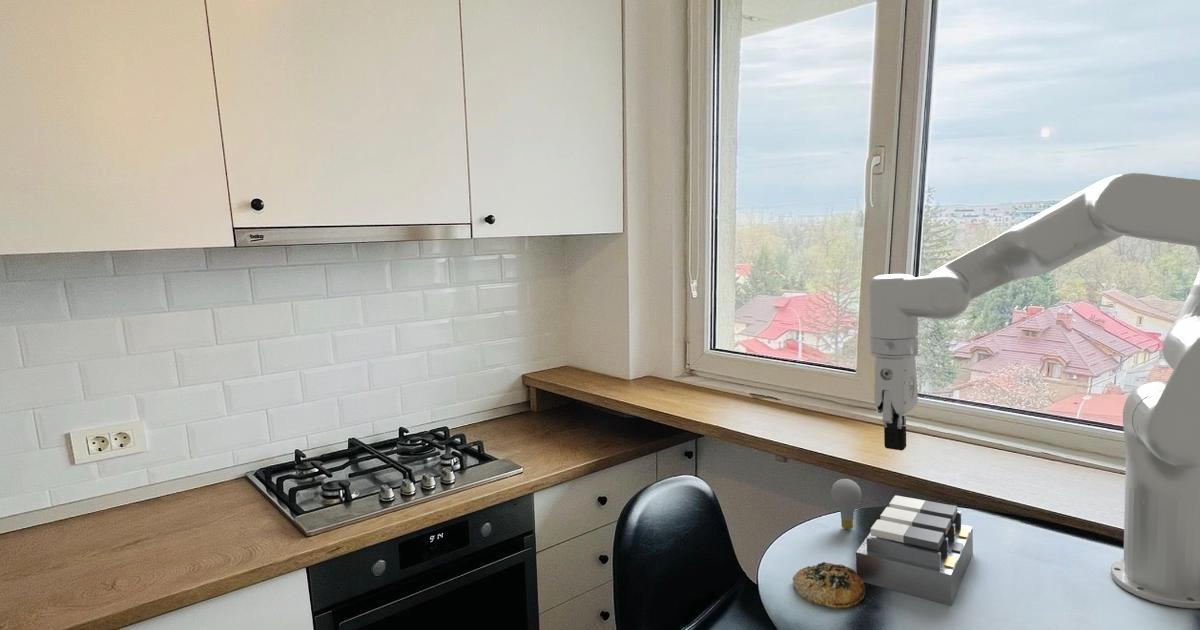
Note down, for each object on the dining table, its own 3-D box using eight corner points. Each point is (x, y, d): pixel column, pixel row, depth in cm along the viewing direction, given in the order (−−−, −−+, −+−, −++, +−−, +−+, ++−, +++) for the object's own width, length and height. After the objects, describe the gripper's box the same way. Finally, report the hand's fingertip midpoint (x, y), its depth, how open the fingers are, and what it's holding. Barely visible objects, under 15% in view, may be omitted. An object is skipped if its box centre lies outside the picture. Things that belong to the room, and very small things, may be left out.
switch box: (972, 554, 112) (972, 512, 111) (951, 605, 98) (950, 558, 97) (887, 535, 121) (886, 496, 120) (856, 580, 107) (855, 537, 106)
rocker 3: (943, 540, 102) (943, 532, 102) (938, 551, 99) (938, 543, 99) (877, 526, 109) (877, 519, 109) (870, 536, 106) (870, 528, 106)
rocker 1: (957, 513, 111) (957, 506, 111) (952, 522, 108) (952, 515, 108) (895, 502, 117) (895, 495, 117) (889, 510, 114) (889, 503, 114)
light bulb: (865, 536, 121) (863, 485, 120) (834, 535, 122) (832, 485, 121) (859, 523, 126) (858, 474, 125) (830, 522, 127) (828, 474, 126)
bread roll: (861, 574, 109) (859, 548, 107) (870, 621, 98) (868, 593, 97) (793, 572, 112) (790, 547, 111) (794, 618, 101) (791, 591, 100)
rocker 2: (950, 526, 107) (950, 518, 107) (945, 536, 104) (945, 528, 104) (887, 514, 113) (886, 506, 113) (880, 522, 110) (880, 515, 110)
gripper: (906, 356, 103) (907, 465, 106) (927, 339, 115) (928, 438, 117) (857, 353, 108) (860, 458, 110) (883, 337, 119) (884, 432, 122)
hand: (895, 447), depth 114 cm, fingers closed
